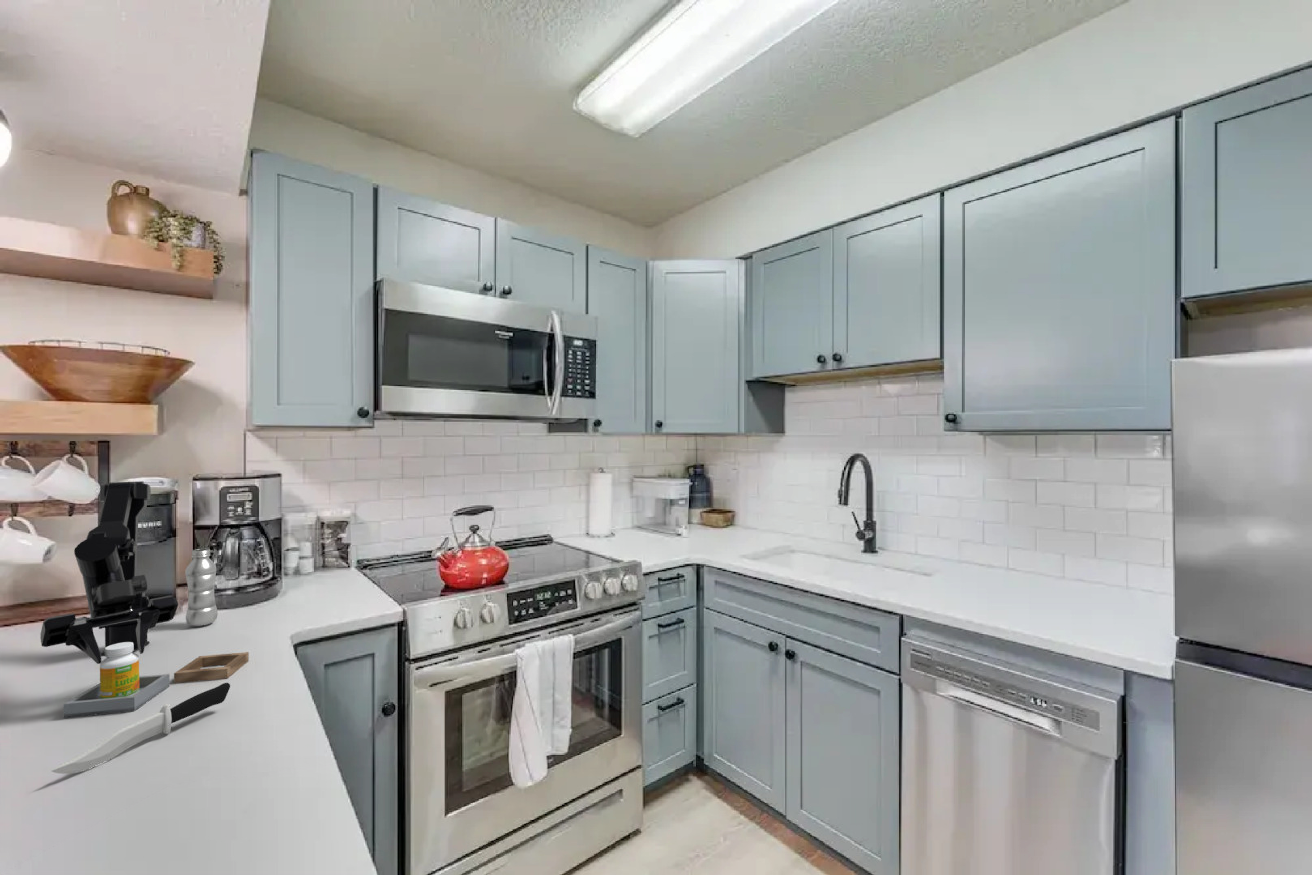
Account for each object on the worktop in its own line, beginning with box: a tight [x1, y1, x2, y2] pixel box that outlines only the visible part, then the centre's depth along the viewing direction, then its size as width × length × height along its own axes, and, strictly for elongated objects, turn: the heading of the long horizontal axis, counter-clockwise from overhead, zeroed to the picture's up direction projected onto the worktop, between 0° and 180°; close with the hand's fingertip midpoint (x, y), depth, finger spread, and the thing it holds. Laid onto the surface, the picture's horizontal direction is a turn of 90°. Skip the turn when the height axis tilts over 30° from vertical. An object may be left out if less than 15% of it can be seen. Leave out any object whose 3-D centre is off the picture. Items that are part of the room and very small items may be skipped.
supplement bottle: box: [99, 642, 140, 699], centre depth 108 cm, size 5×5×10 cm
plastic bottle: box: [184, 548, 219, 627], centre depth 152 cm, size 6×7×20 cm
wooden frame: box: [173, 651, 250, 684], centre depth 121 cm, size 9×9×2 cm
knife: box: [51, 682, 231, 775], centre depth 93 cm, size 25×2×5 cm, turn 163°
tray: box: [63, 673, 171, 719], centre depth 107 cm, size 11×11×2 cm
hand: (121, 657), depth 107 cm, fingers open, 5 cm apart
